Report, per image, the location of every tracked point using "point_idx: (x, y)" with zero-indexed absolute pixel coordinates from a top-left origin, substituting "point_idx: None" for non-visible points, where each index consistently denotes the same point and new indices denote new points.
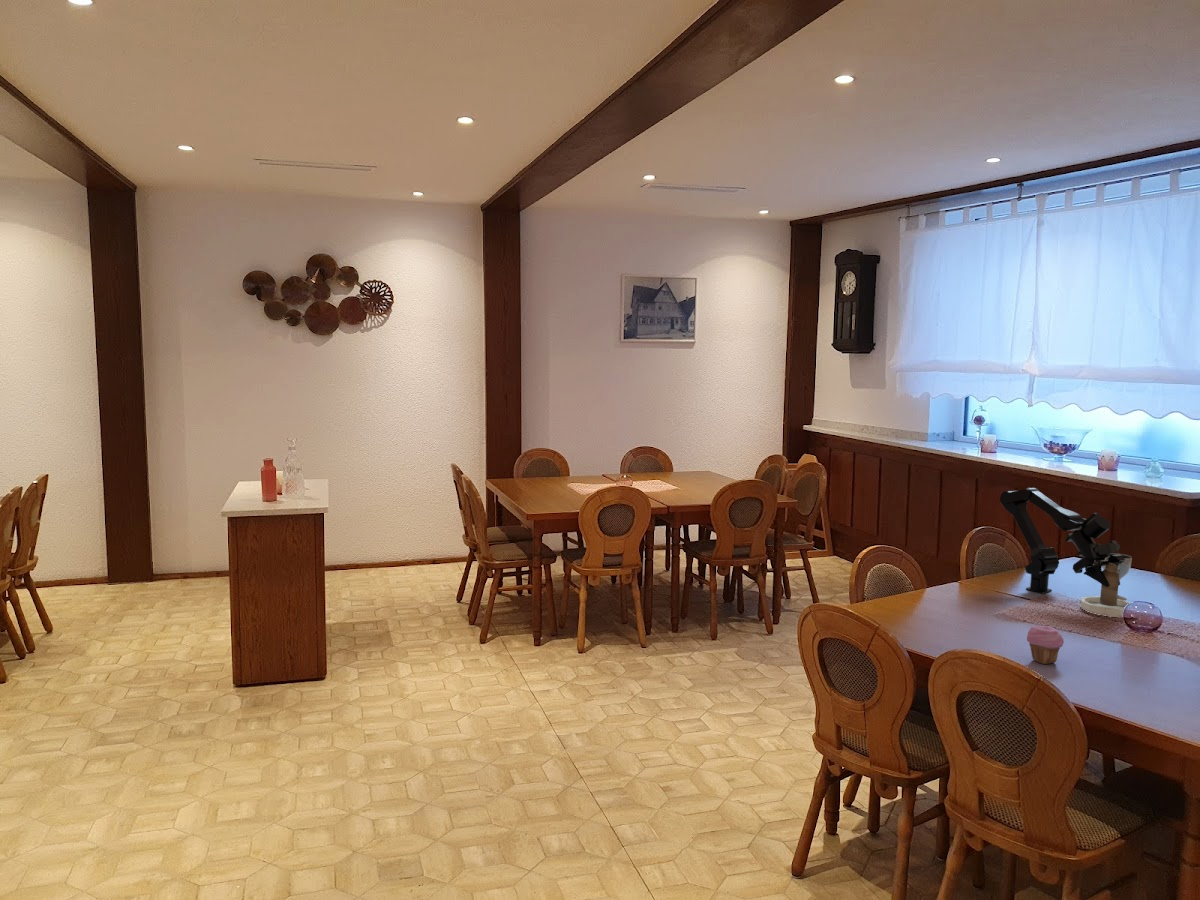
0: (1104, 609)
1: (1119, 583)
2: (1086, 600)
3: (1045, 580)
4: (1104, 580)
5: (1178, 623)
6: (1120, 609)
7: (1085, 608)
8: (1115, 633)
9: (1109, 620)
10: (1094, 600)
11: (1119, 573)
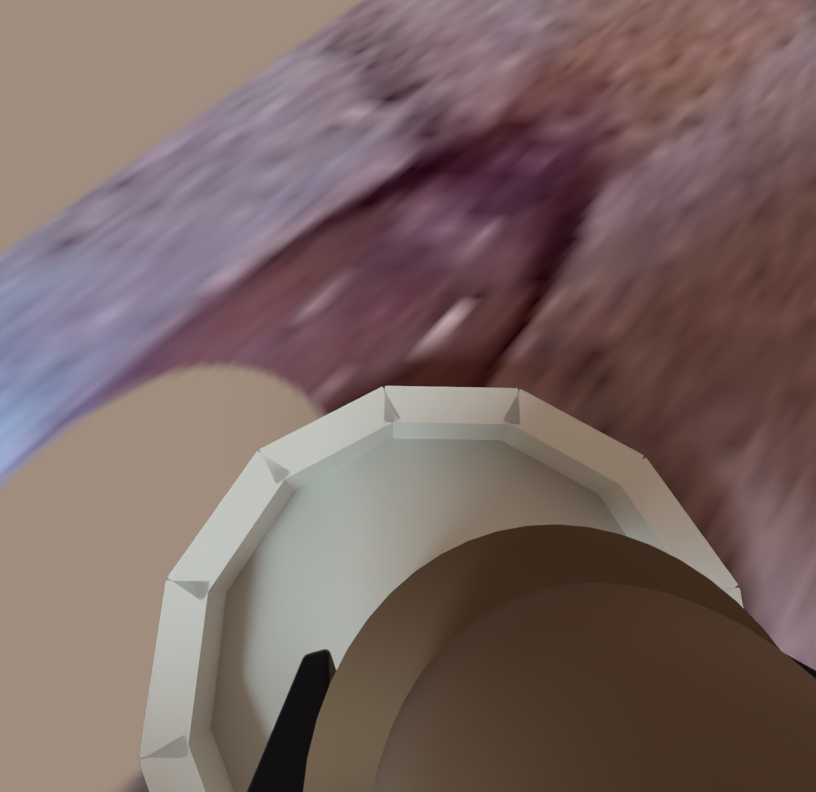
0: (642, 462)
1: (324, 655)
2: None
3: None
4: None
5: (100, 262)
6: (502, 404)
7: None
8: (767, 124)
9: (629, 376)
10: None
11: (392, 591)
